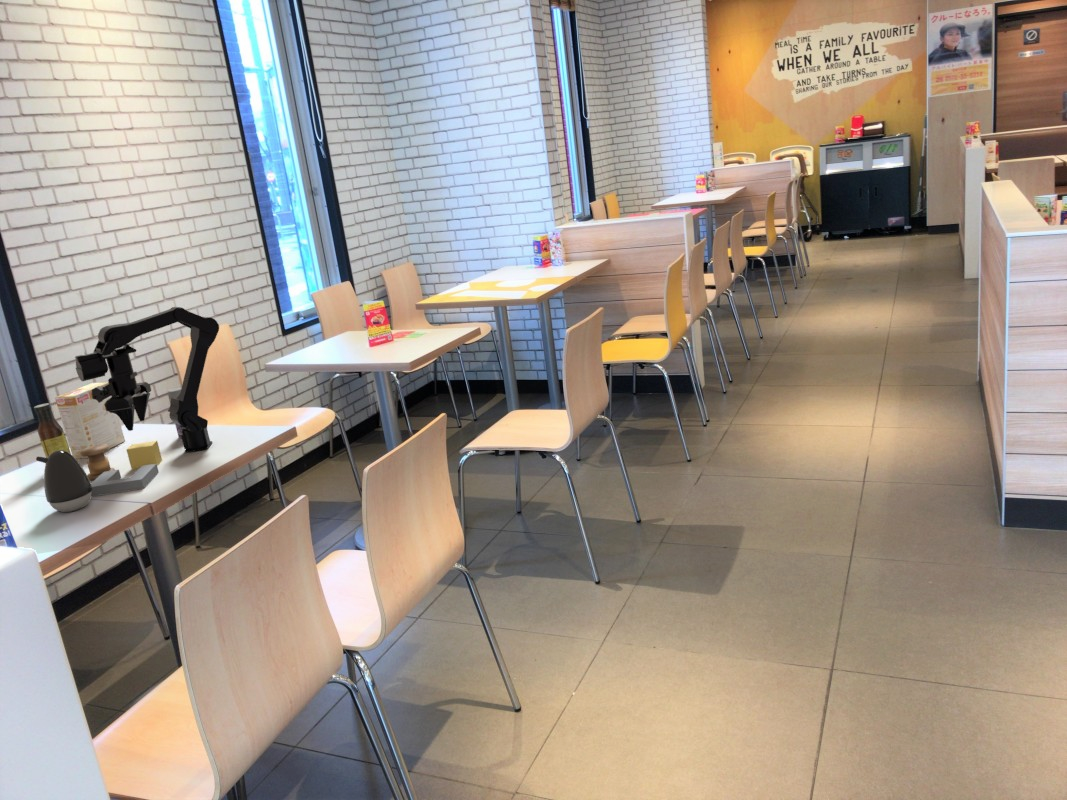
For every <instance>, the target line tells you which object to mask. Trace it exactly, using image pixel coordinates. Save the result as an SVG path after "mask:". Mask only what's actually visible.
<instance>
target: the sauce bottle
mask: <svg viewBox="0 0 1067 800" xmlns="http://www.w3.org/2000/svg"><path fill="white" fill-rule="evenodd" d="M33 410H34V413H36V416H37V419H38V427H37V433H38V437H39V439H40V440H39V441H40V445H41V447H42V449H43V453H44V455H45V458H48V457H49V455H50V454H51V453H52V452H54V451H57V450H64V451H67V452H69V453H70V454H71V455H72V453H71V449H70V446H69V443H68V439H67V436H66V433H65V430H64V428H63V427H62V426H61V425H60V423H59V422H58V421H57V420H56V419H55V417H54V415H53V412H52V407H51V403H48V402H47V403H42V404H38V405H35V406H34V407H33Z"/></svg>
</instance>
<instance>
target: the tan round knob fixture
mask: <svg viewBox="0 0 1067 800" xmlns="http://www.w3.org/2000/svg"><path fill="white" fill-rule="evenodd" d="M109 450H110V449H109V447H108V445H107V444H100V445H94V446H90V447H87V448H85V449H83V450H81V451H80V454H81V456H83V457H87V456H88V458H87V459H88V461H87V462H86V465H87V468H88V471H89V473H87V476H88V478H89V480H90V482H93V481H94V480H95V479H96V478H97V477H99V476H100V475H101V474H102V473H103V472H106V471H112V470H116V469H115V468H114V467H111V465H110V461H109V458H108V456H105V453H106V452H107V451H109Z"/></svg>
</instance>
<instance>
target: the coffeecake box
mask: <svg viewBox="0 0 1067 800" xmlns="http://www.w3.org/2000/svg"><path fill="white" fill-rule="evenodd" d="M107 384H109V382H108V381H107V382H106V381H105V382H91V383H89V384H86V385H84V386H81V387H79V388H76V389H73V390H71V391H68V392H66V393H63V394H61V395H58V396H55V397H54V399H55V402H56V406H57V409H58V412H59V415H60V419H61V422H62V426H63V430H64V434H65V437H66V440H67V444H68V446H69V449H70V452H71V455H72V456H73V457H74V458H75V459H76V460H78V459H88V456H87V457H83V456H81V454H80V451H81V450H83V449H85V448H87V447H90V446H94V445H100V444H107V445H108V447H109V450H110V449H112V448H114V447H115V446H118V445H120V444H122V443H125V442H126V439H125V436H124V432H123V428H122V424H121V422H120V418H119V416H118V415H116V414H114V413H110V412H109V411H106V409H105V405H104V404H105V403H106V401H107V400H108V399H110V398H111V397H112V396H109V397H108V398H106V399H104V400H103V401H102V402H100V403H98V401H97V400H95V399H92V397H93V396H92V389H94V388H96V387H97V386H100V387H101V388H102V387H103V386H105V385H107Z"/></svg>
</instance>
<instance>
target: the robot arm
mask: <svg viewBox="0 0 1067 800" xmlns="http://www.w3.org/2000/svg"><path fill="white" fill-rule="evenodd" d="M177 323H178V324H181V325H182V326H185V327H186V328H188V329H190V342H191V347H190V352H189V356H188V361H187V364H186V369H185V371H184V372H185V373H184V376H183V381H182V385H181V387H180V388H181V392H180V394H179V396H178V397H177V399H174V398H171V404H170V403H169V405H170V406H169V408H168V409H167V412H169V415H168V416H169V419H170V420H171V422H173V423H174V424H175V423H176V424H178V425H179V426H180V427H181V428H183V430H182V434H183V435H182V436H181V438H180V439H181V441H182V445H183V449H184V453H190V452H197V451H204V450H208V449H209V448H210V447H211V445H212V444H213V441H212V440H211V439H210V435H209V431H208V421H209V420H207V419H205V418H204V417H202V416H200V415H199V403H198V394H199V390H200V385H201V381H202V377H203V373H204V368H205V365H206V361H207V357H208V352H209V349H210V348H211V346H212V345H213V343H214V342H215V340H216V338H217V336H218V333H219V330H220V325H219V323H218V321H217V320H216V319H215V318H212V317H210V316H209V317H208V316H201V315H198V314H196V313H194V312H191V311H189V310H187V309H185V308H183V307H180V306H172V307H171V308H169V309H167V310H163V311H160V312H158V313H155V314H152V315H149V316H147V317H143V318H140V319H138V320H137V319H136V320H135V321H132V322H125V323H118V324H112V325H107V326H103V327H102V328H100V329H99V332H98V334H97V338H98V341H97V343H96V345H95V347H94V350H93V352H91V353H87V354H84V355H83V354H79V355H75V357H74V358H75V370H76V373H77V376H78V378H79V380H80V381H81V382H85V381H90V380H93V379H98V378H101V377H105V376H106V373H107V374H108V371H109V374H110V377H109V378H108V379H107V382H109V384H107V385H105V386H103V387H102V388H101V387H100V386H97V387H96V388H94V389H92V396H93V397H92V399H95V400H97V401H98V403H100V402H102V401H103V400H104V399H106V398H108V397H109V396H112V397H111V398H110V399H108V400H107V401H106V403H105V404H104V405H105V409H106V411H109V412H110V413H114V414H116V415H118V417H119V420H121V422H122V424H123V425H124V427H125V428H126V429H127V431H128V432H131V431H133V430H134V422H135V421H134V420H135V413H136V416H137V418H138V420H139V421H140V422H143V421H145V418H146V414H147V413H146V412H147V408H148V404H149V399H150V396H151V393H150V392H151V391H152V387H151V384H150V383H148V382H147V381H143V382H137V379H136V377H137V376H138V372H137V371H134V368H133V364H132V361H131V357H130V354H132V353H136V352H137V349H136V348H134V347H132V346H131V345H130V344H129V343H132V341H134V340H135V339H137V338H138V337H140V336H142V335H146V334H147V333H148V334H149V333H150V332H153V331H156V330H159V329H162V328H164V327H167V326H170V325H173V324H177Z"/></svg>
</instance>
